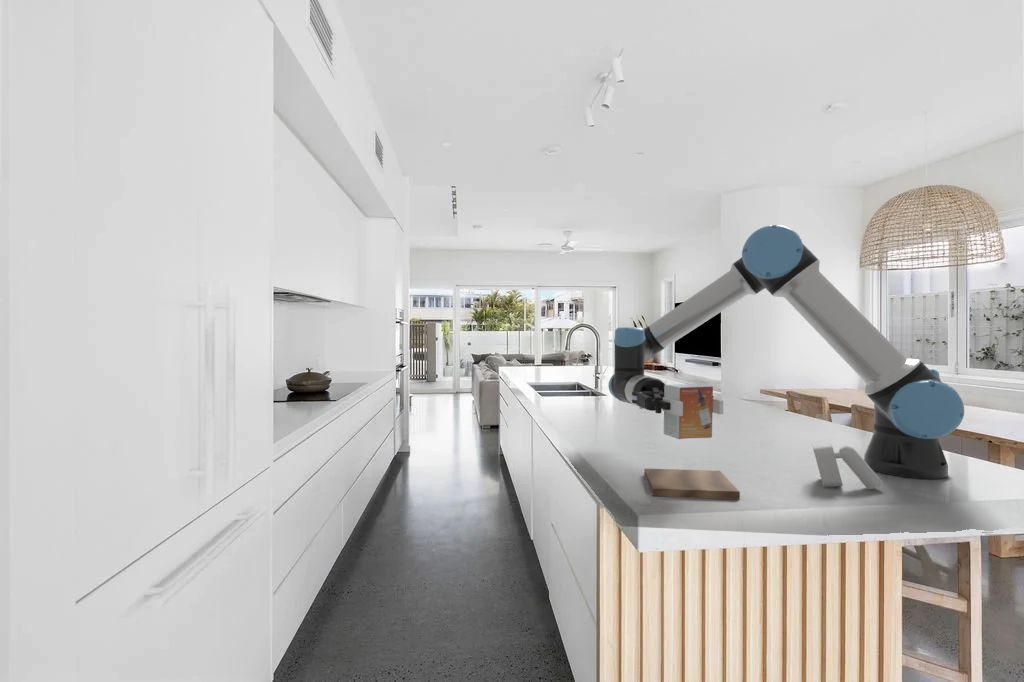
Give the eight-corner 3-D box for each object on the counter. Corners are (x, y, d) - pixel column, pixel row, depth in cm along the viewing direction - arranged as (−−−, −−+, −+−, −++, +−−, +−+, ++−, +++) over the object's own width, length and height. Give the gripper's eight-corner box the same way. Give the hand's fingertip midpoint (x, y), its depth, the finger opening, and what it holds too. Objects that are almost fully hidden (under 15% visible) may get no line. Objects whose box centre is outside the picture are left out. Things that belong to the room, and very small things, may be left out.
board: (719, 477, 111) (719, 470, 111) (739, 499, 97) (739, 491, 97) (644, 475, 113) (644, 468, 113) (653, 496, 99) (653, 488, 99)
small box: (678, 440, 101) (678, 387, 101) (662, 434, 107) (663, 384, 106) (713, 437, 103) (713, 386, 103) (696, 432, 109) (696, 382, 108)
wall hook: (887, 493, 98) (873, 442, 99) (826, 498, 103) (813, 449, 104) (880, 482, 105) (867, 434, 106) (823, 487, 110) (811, 441, 111)
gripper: (686, 406, 125) (748, 424, 102) (605, 410, 120) (652, 429, 98) (686, 376, 124) (748, 387, 102) (605, 378, 120) (652, 390, 98)
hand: (701, 408), depth 100 cm, fingers closed on small box, 8 cm apart
